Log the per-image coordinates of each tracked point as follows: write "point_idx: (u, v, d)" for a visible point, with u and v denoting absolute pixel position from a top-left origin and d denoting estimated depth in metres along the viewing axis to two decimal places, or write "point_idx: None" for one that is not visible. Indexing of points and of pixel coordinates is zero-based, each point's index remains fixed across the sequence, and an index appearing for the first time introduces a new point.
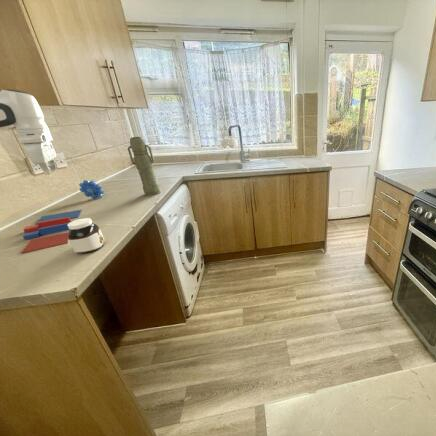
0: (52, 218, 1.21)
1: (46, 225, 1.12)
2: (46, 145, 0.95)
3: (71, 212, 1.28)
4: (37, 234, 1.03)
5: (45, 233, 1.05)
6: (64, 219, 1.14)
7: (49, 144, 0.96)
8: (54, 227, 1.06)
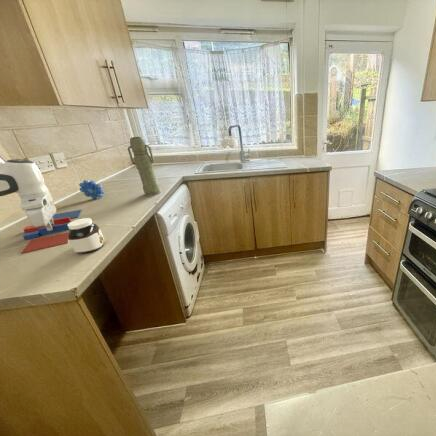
0: None
1: None
2: (46, 206, 1.02)
3: (71, 212, 1.28)
4: (37, 234, 1.03)
5: (45, 233, 1.05)
6: (64, 219, 1.14)
7: (49, 205, 1.03)
8: (54, 227, 1.06)
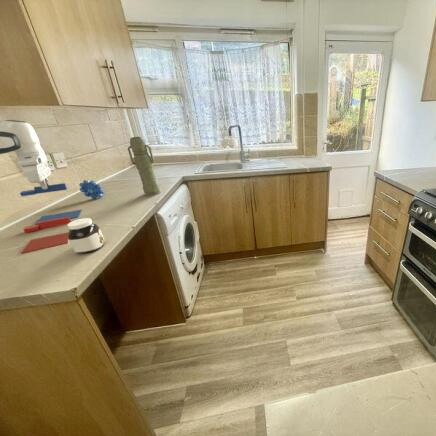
0: (52, 218, 1.21)
1: (46, 225, 1.12)
2: (41, 166, 1.11)
3: (71, 212, 1.28)
4: (33, 192, 1.12)
5: (41, 192, 1.14)
6: (64, 219, 1.14)
7: (44, 164, 1.12)
8: (49, 186, 1.15)
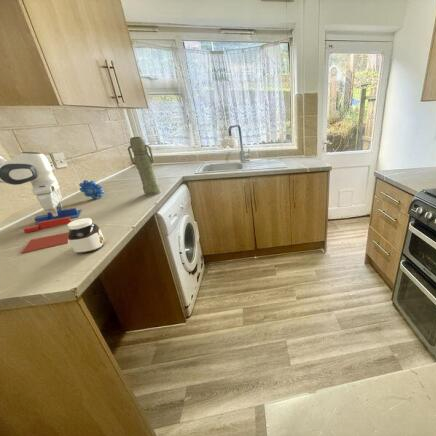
0: (52, 218, 1.21)
1: (46, 225, 1.12)
2: (54, 192, 1.17)
3: None
4: (46, 217, 1.19)
5: (53, 216, 1.21)
6: (64, 219, 1.14)
7: (56, 191, 1.19)
8: (61, 211, 1.22)
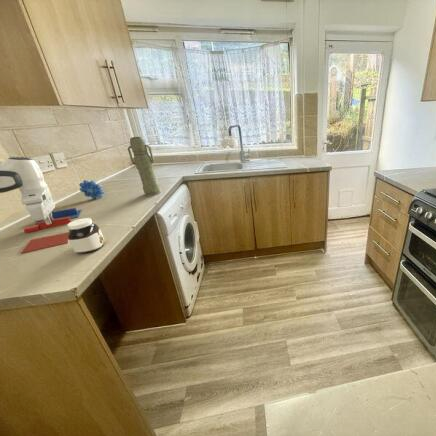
0: None
1: (46, 225, 1.12)
2: (46, 201, 1.08)
3: None
4: None
5: (53, 216, 1.21)
6: (64, 219, 1.14)
7: (48, 200, 1.09)
8: (61, 211, 1.22)
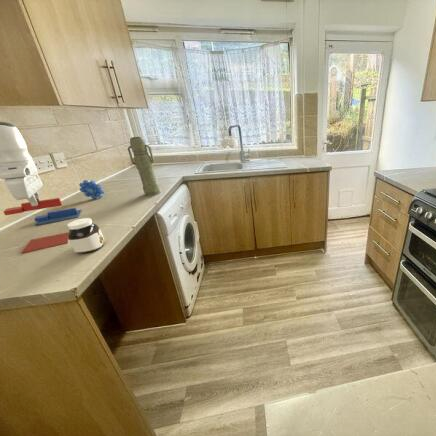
0: (52, 218, 1.21)
1: (32, 207, 0.93)
2: (30, 177, 0.90)
3: None
4: (46, 217, 1.19)
5: (53, 216, 1.21)
6: (53, 200, 0.96)
7: (34, 176, 0.91)
8: (61, 211, 1.22)
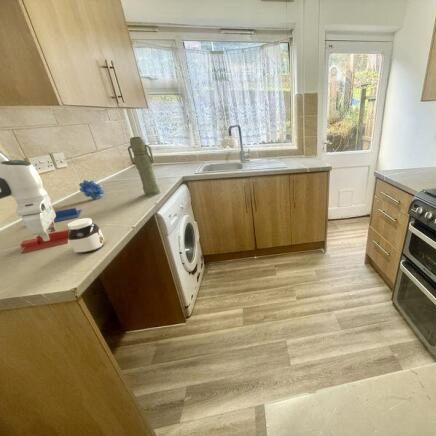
0: None
1: None
2: (45, 211, 0.94)
3: None
4: None
5: None
6: (67, 231, 1.00)
7: (48, 210, 0.95)
8: (61, 211, 1.22)
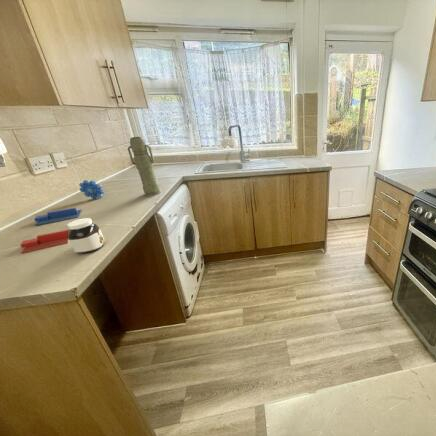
0: (52, 218, 1.21)
1: (46, 239, 0.98)
2: None
3: None
4: (46, 217, 1.19)
5: (53, 216, 1.21)
6: (67, 231, 1.00)
7: None
8: (61, 211, 1.22)
